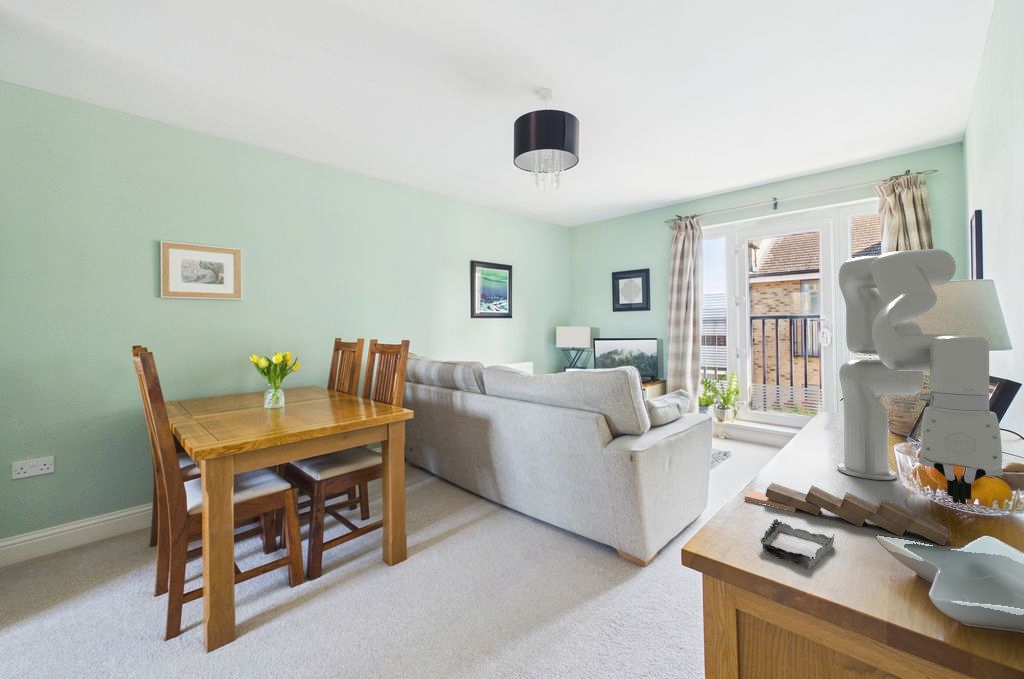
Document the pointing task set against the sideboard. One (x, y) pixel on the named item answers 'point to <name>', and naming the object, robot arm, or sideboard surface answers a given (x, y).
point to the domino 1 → (766, 500)
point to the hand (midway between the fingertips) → (958, 501)
